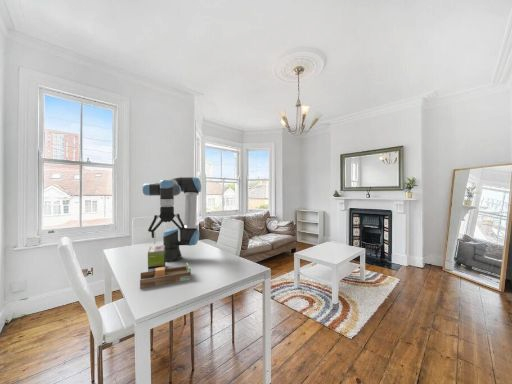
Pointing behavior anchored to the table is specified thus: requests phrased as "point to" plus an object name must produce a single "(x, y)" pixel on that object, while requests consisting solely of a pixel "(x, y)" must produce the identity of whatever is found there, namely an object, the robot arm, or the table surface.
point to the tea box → (156, 257)
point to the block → (160, 271)
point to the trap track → (170, 276)
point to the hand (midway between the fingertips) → (167, 242)
